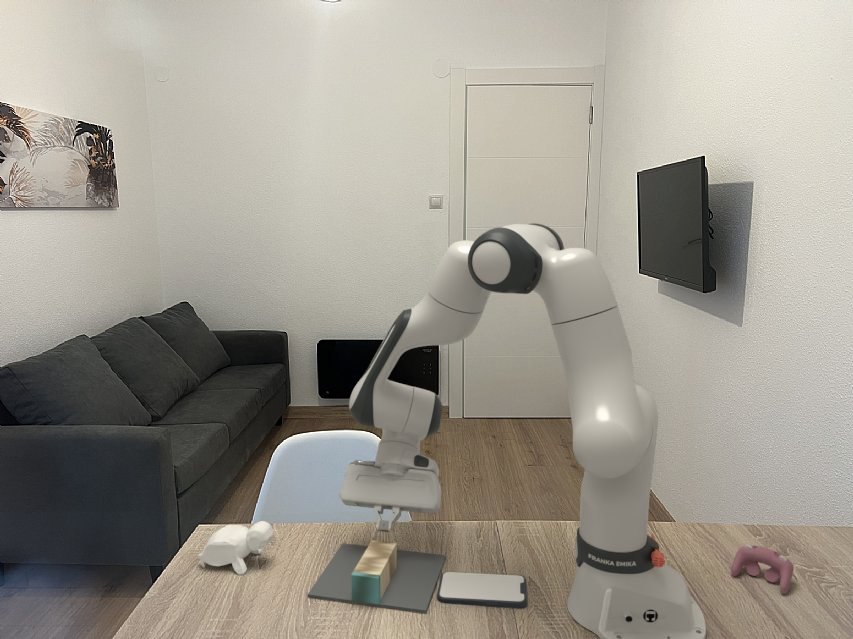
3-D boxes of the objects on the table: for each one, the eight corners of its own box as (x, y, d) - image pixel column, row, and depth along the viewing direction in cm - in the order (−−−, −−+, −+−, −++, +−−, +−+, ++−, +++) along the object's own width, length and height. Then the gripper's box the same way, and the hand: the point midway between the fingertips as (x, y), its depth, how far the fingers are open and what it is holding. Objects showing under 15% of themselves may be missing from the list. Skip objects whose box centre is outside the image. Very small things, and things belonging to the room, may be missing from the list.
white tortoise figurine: (206, 586, 123) (271, 566, 120) (187, 548, 123) (253, 526, 119) (226, 562, 132) (288, 542, 128) (209, 526, 131) (272, 505, 128)
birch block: (396, 542, 122) (378, 578, 110) (397, 566, 123) (378, 604, 111) (371, 540, 123) (351, 575, 112) (372, 563, 124) (352, 600, 112)
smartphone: (436, 606, 113) (527, 611, 111) (436, 598, 112) (527, 603, 110) (441, 577, 121) (526, 582, 119) (441, 570, 121) (526, 574, 119)
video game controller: (790, 596, 116) (798, 557, 117) (786, 596, 113) (793, 556, 114) (733, 575, 123) (741, 539, 124) (727, 575, 119) (735, 538, 120)
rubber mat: (446, 557, 127) (446, 555, 127) (425, 613, 110) (425, 610, 110) (342, 545, 132) (342, 543, 132) (307, 597, 115) (307, 594, 114)
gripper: (344, 453, 129) (328, 520, 122) (442, 461, 125) (432, 531, 117) (352, 465, 135) (337, 530, 127) (446, 473, 130) (437, 541, 122)
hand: (383, 531), depth 122 cm, fingers closed
